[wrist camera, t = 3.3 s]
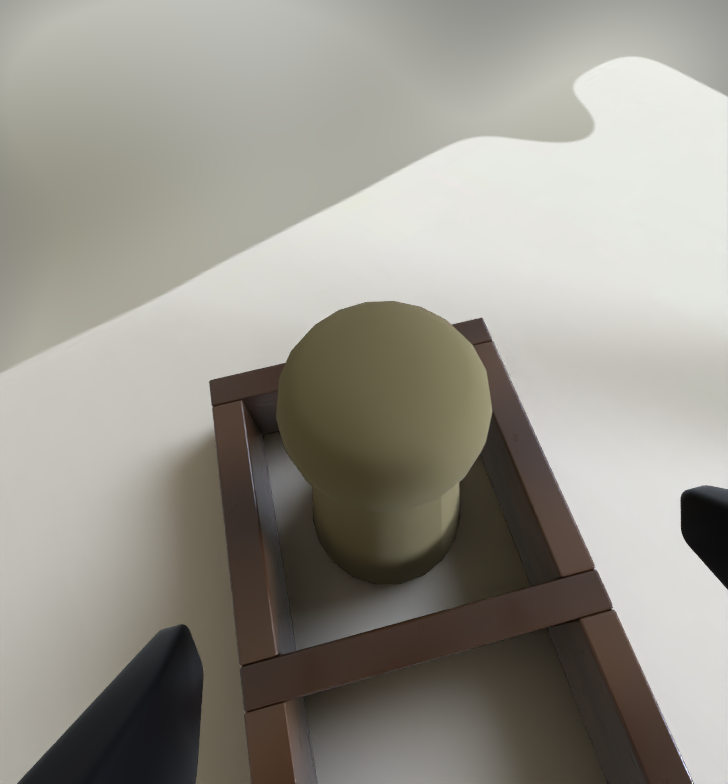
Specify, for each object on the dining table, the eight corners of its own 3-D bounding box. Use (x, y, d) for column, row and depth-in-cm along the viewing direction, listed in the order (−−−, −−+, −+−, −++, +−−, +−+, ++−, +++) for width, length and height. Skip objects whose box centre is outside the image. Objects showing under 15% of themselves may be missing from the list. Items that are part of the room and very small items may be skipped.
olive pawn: (289, 478, 21) (204, 324, 11) (412, 416, 22) (429, 228, 12) (354, 615, 18) (314, 566, 9) (489, 537, 19) (587, 416, 10)
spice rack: (746, 1024, 13) (855, 1134, 10) (329, 1172, 12) (309, 1345, 9) (470, 361, 23) (482, 316, 20) (233, 417, 22) (208, 379, 19)
